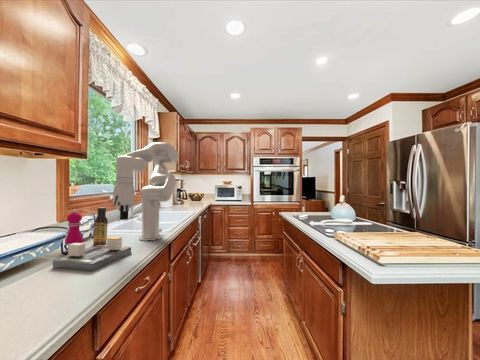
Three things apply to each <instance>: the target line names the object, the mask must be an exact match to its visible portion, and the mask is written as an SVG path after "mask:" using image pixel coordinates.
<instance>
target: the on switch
mask: <svg viewBox="0 0 480 360" xmlns="http://www.w3.org/2000/svg"><path fill="white" fill-rule="evenodd" d="M85 249H86V243H85V242H84V243H83V242H82V243H72V244H69V245H68V252H67V255H68V256H81V255H84V254H85Z"/></svg>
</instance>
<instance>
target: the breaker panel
mask: <svg viewBox="0 0 480 360" xmlns="http://www.w3.org/2000/svg"><path fill="white" fill-rule="evenodd" d="M131 254H132V246H123V245H122V248H121V249H118V250H109V249H107V244H102V245H94V246H90V247H88V248H85V254H84V255H81V256H68V254H67V255H64V256H61V257H59V258H55V259H53V260H52V268H53V269H59V270H60V269H61V270H69V271H70V270H72V271H83V272H93V273H94V272H95V271H96V270H99V269H102V268H103V267H105V266H107V265H109V264H112V263H113V262H116V261H118V260H120V259H122V258H124V257H127V256H128V255H131Z"/></svg>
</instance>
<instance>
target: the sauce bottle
mask: <svg viewBox="0 0 480 360" xmlns="http://www.w3.org/2000/svg"><path fill="white" fill-rule="evenodd" d="M106 211H107V207H106V206H102V207H101V206H99V207H97V216H96V218H95V219H94V224H93V239H92V240H93V241H92V242H93V245H94V246H96V245H106V244H107V238H108V223H109V222H108V220H109V219H108V218H107V217H106V216H107V215H106Z"/></svg>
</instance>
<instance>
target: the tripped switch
mask: <svg viewBox="0 0 480 360" xmlns="http://www.w3.org/2000/svg"><path fill="white" fill-rule="evenodd" d="M122 239H123V238H122V237H121V236H120V237H119V236H111V237H107V240H106V245H107V249H109V250H118V249H121V248H122V246H123V245H122V244H123V243H122V241H123V240H122Z"/></svg>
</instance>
